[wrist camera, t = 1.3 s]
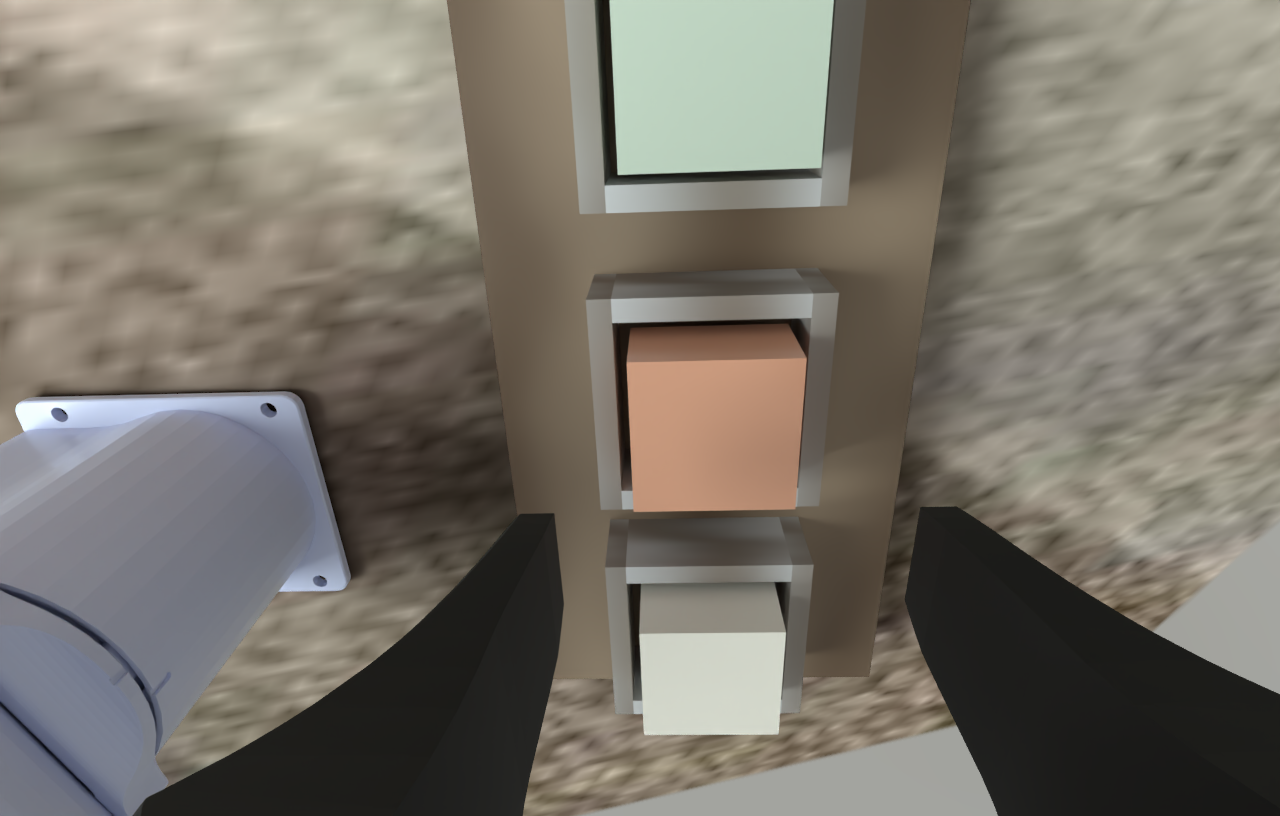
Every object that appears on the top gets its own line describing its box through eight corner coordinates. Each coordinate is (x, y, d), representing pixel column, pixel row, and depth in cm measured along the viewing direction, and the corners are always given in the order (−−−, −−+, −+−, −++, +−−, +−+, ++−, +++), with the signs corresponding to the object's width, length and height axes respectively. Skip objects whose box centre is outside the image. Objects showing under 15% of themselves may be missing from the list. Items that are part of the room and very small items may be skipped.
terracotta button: (636, 463, 19) (633, 511, 17) (630, 327, 17) (626, 362, 15) (779, 460, 19) (795, 509, 17) (787, 323, 17) (806, 358, 15)
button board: (547, 639, 27) (527, 735, 23) (453, -110, 16) (389, -171, 12) (854, 635, 26) (889, 733, 22) (957, -135, 16) (1055, -207, 12)
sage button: (623, 162, 16) (617, 175, 13) (614, -45, 14) (606, -68, 12) (798, 155, 15) (821, 168, 13) (811, -54, 14) (839, -79, 12)
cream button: (645, 672, 23) (644, 735, 20) (640, 576, 21) (639, 633, 19) (766, 671, 22) (778, 734, 20) (772, 574, 21) (786, 632, 18)
